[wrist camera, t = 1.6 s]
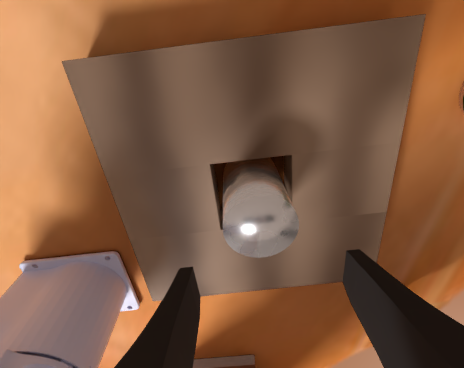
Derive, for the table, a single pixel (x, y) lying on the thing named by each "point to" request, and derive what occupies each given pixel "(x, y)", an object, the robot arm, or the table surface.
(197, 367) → the tall white column
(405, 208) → the table surface
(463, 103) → the green drink can
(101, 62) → the housing block
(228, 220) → the shiny metal cylinder
